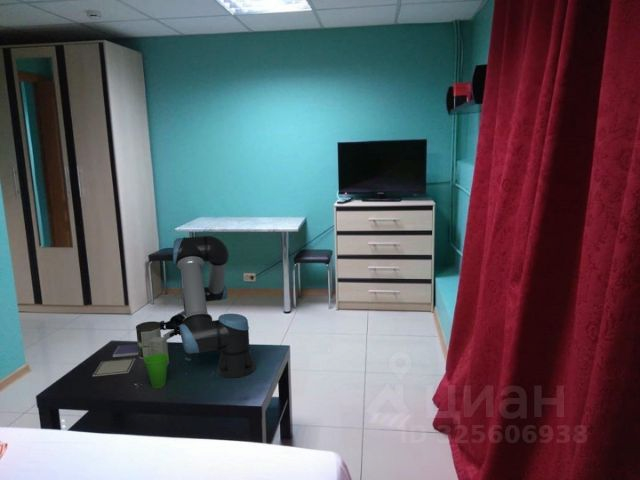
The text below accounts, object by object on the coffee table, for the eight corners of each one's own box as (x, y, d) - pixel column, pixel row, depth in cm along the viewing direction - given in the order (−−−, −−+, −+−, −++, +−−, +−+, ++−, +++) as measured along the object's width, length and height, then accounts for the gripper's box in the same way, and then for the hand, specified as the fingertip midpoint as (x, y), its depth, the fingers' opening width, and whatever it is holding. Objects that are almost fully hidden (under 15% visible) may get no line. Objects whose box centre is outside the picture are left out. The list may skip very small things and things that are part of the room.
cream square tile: (128, 372, 191) (128, 371, 191) (92, 376, 188) (92, 375, 188) (135, 358, 204) (135, 358, 204) (101, 362, 202) (101, 361, 202)
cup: (141, 389, 176) (139, 362, 174) (153, 378, 185) (151, 353, 183) (164, 390, 175) (161, 363, 173) (174, 379, 184) (172, 353, 182)
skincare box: (169, 363, 198) (167, 337, 196) (164, 368, 194) (161, 341, 192) (156, 362, 200) (154, 336, 198) (150, 367, 195) (148, 340, 193)
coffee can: (133, 358, 205) (130, 328, 203) (148, 349, 215) (146, 320, 212) (152, 360, 202) (150, 330, 200) (167, 351, 212) (165, 322, 209)
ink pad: (138, 354, 209) (138, 352, 209) (112, 357, 207) (112, 354, 207) (143, 345, 220) (142, 343, 219) (118, 347, 218) (118, 345, 217)
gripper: (202, 330, 226) (175, 347, 206) (160, 325, 234) (130, 341, 214) (201, 315, 224) (174, 331, 205) (159, 311, 233) (128, 325, 213)
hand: (151, 336), depth 209 cm, fingers open, 13 cm apart
